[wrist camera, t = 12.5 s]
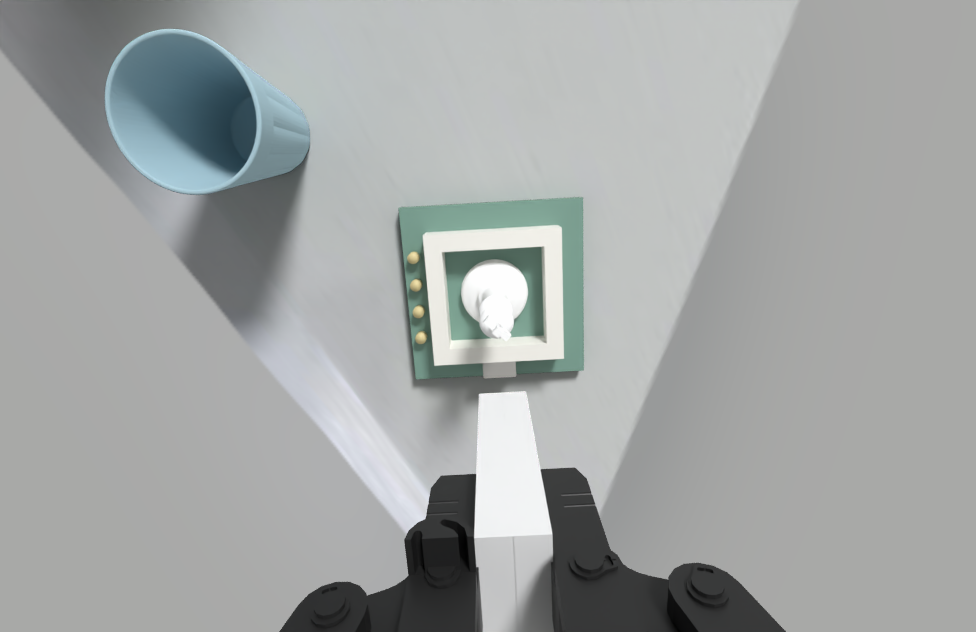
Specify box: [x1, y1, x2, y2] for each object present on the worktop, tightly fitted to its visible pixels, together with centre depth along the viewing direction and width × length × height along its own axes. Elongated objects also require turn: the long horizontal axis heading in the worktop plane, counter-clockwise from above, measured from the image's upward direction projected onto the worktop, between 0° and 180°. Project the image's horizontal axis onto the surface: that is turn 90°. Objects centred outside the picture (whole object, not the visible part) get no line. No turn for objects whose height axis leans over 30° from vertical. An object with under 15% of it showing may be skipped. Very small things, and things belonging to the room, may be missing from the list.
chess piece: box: [461, 259, 528, 341], centre depth 32 cm, size 5×5×10 cm
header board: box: [398, 197, 584, 379], centre depth 36 cm, size 13×13×3 cm
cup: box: [105, 29, 310, 195], centre depth 30 cm, size 8×8×10 cm
